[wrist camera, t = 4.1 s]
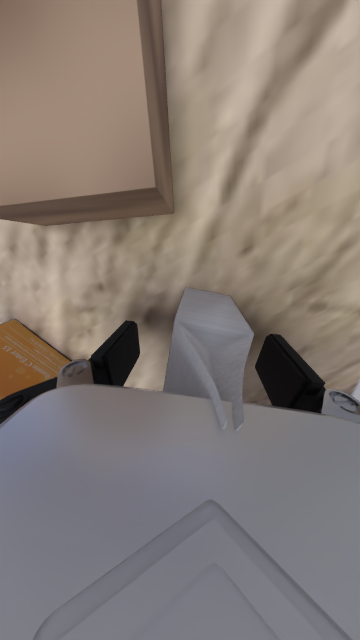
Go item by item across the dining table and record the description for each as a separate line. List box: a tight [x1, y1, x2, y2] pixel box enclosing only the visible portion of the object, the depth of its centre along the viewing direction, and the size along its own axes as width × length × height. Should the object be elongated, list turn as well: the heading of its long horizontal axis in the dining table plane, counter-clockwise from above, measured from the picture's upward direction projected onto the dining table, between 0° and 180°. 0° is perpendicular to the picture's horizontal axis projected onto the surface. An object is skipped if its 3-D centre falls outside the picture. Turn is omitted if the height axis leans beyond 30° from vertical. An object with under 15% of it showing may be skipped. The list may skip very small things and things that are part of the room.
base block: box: [0, 0, 174, 226], centre depth 6 cm, size 10×10×5 cm
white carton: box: [163, 287, 254, 431], centre depth 9 cm, size 4×7×10 cm, turn 171°
